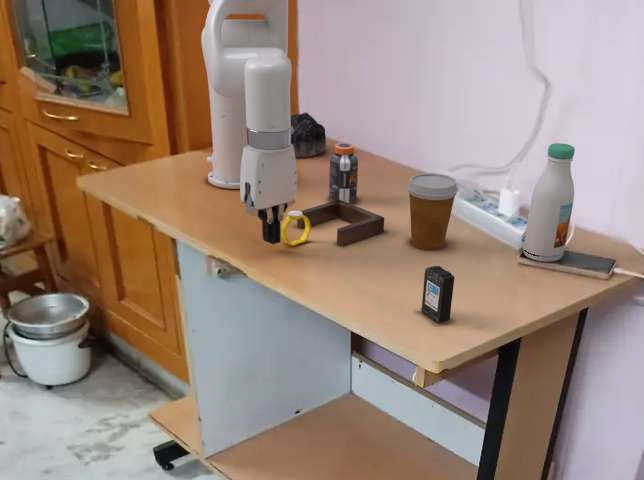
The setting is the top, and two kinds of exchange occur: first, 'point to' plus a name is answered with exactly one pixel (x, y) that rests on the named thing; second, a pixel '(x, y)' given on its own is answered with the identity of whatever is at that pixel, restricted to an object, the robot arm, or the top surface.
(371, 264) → the top surface
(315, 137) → the crystal cluster
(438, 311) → the ink cartridge
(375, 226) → the bay
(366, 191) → the top surface
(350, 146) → the pill bottle
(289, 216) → the watch
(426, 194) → the disposable coffee cup
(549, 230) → the milk bottle
